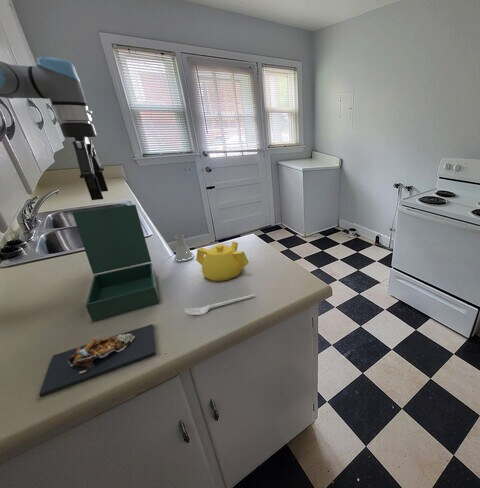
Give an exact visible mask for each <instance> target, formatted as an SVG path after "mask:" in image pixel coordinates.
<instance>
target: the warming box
mask: <svg viewBox="0 0 480 488" xmlns="http://www.w3.org/2000/svg"><path fill="white" fill-rule="evenodd" d="M159 303H160V298H159V291H158V282H157V276H156V273H155V269H154V266H153V263H152V262H148V263H143V264H138V265H134V266H129V267H125V268H120V269H115V270H111V271H106V272H101V273H97V274H93V278H92V281H91V284H90V288H89V291H88V294H87V298H86V301H85V307H86V310H87V312H88V315H89V317H90V319H91V321H92V322H96V321H101V320H103V319H106V318H111V317H114V316H117V315H121V314H124V313H128V312H131V311H135V310H138V309H142V308H146V307H150V306H152V305H156V304H159Z"/></svg>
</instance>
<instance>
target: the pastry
mask: <svg viewBox="0 0 480 488" xmlns="http://www.w3.org/2000/svg"><path fill="white" fill-rule="evenodd" d="M118 335H119V334H118ZM113 336H114V337H113ZM113 336H109V337H106V338H103V339H100V337H99V336H97V335H96V336H95V337H94V338H92V339H91V340H90V341H89V342H88V343H87V344H88V345H87V344H86V345H87V346H85V347H84V348H83V349H81V348H80V347H81V346H78V347H79V348H78V347H75V348H76V349H75V348H74V349H75V354H74V355H72V356H70V357H69V358H68V363H69V364H70V366H74V365H80V366H87V368H86V369H84V370H82V371H80V372H79V374H80V375H82V374H85V373H87V371H90V370H93V369H94V368H95V365H94V364H93V363H92V362H93V360H94V359H95V358H102V357H105V356H107V355H108V354H109V353H111V352H113V351H116V352H120V351H122V350H124V348H125V347H126V346H127V345H128V344H130V343H131V342H132V340H133V339H134V337H135V336H133V335H132V334H123V335H119V336H118V337H117V336H116V335H113ZM111 337H112V338H111Z"/></svg>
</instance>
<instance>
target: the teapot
mask: <svg viewBox="0 0 480 488" xmlns="http://www.w3.org/2000/svg"><path fill="white" fill-rule="evenodd" d="M230 245H231V246H230ZM230 245H224V244H220V243H219V244H217V245H215V246H214V247H212V248H210V249H208V248H204V247H199V248H198V249H196V259H195V261H196V262H197V263H198V264H200V265H201V273H202V275H203V276H204V277H205V278H207V279H209V280H210V281H215V282H223V281H228V280H232V279H234V278H235V277H237V276H239V275H240V274H241V272H242V271H243V270H244V268H245V267H247V265H248V264H249V260H248V258H247V255H246V253H245V251H244V250H240V251H238V246H239V243H238V242H236V241H232V242H231V244H230Z"/></svg>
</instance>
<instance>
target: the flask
mask: <svg viewBox="0 0 480 488" xmlns="http://www.w3.org/2000/svg"><path fill="white" fill-rule="evenodd" d="M184 237H185V235H184V234H177V235H175V236H174V238H175V240H176V250H175V256H174V261H175V262H178V263H183V262H188V261H190V260H193V259H194V257H195V255H194V253H193V252H192V251H191V249H190V247H189V246H188V244H187V243H186V241H185V238H184ZM190 251H191V252H190ZM186 252H187V253H186ZM192 255H193V257H192ZM190 257H192V258H190ZM188 258H190V259H188ZM176 259H177V260H176ZM182 259H187V260H182ZM178 260H181V261H178Z"/></svg>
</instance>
